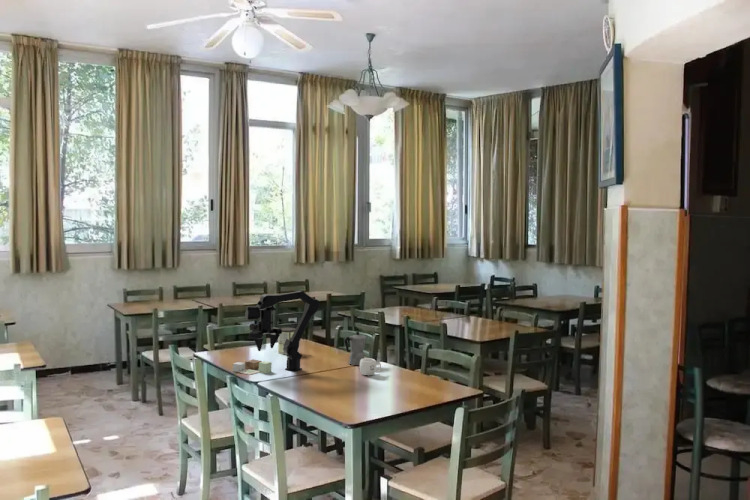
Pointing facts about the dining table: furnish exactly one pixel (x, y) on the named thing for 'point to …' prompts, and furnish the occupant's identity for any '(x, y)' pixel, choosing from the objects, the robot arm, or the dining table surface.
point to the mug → (368, 366)
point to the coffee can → (284, 338)
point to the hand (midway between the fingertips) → (265, 349)
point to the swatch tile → (249, 372)
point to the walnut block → (252, 364)
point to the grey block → (238, 367)
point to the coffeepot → (355, 348)
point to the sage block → (265, 367)
